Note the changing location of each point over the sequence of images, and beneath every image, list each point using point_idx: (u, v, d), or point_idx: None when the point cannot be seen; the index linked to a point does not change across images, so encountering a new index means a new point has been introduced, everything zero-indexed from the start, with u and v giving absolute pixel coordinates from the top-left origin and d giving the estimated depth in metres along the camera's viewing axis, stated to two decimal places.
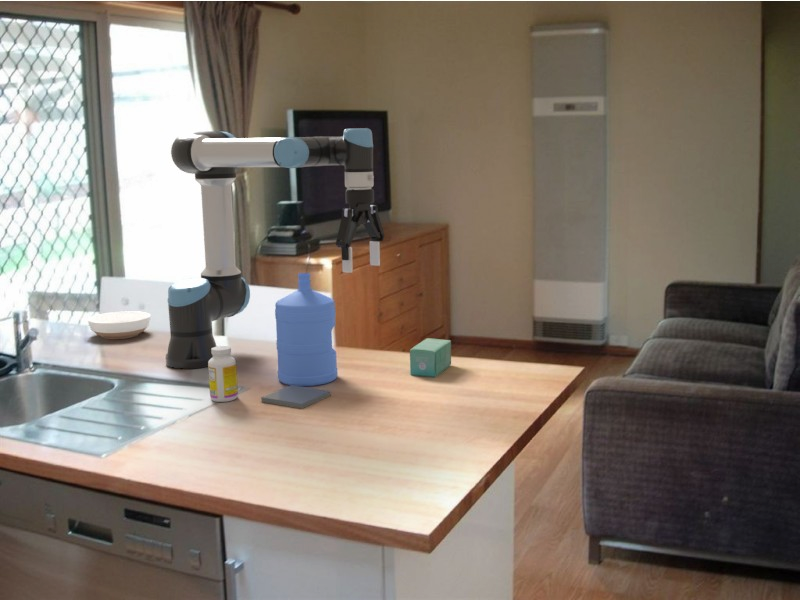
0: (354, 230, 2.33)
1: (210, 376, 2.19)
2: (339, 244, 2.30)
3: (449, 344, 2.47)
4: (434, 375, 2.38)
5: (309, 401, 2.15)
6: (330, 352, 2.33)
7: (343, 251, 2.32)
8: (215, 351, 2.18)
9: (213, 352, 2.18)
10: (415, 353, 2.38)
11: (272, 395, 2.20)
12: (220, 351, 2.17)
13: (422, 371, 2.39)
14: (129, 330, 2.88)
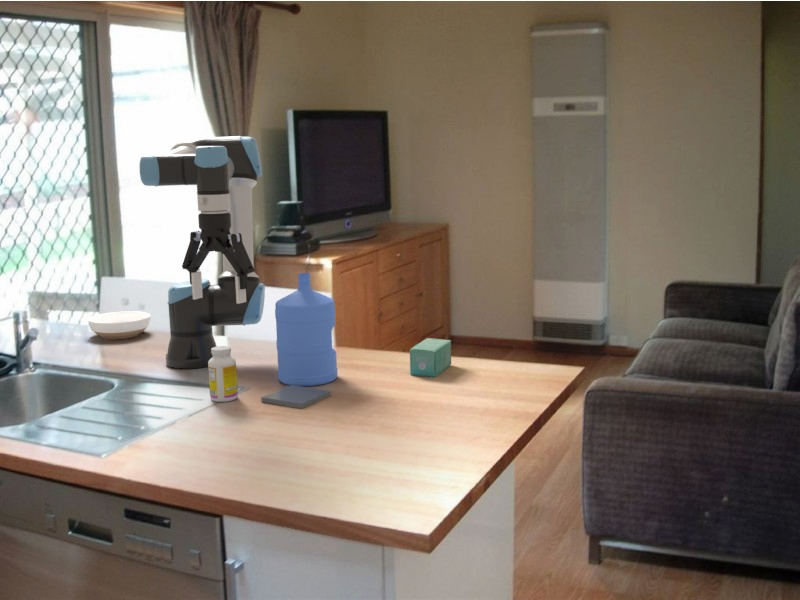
0: (197, 255, 2.17)
1: (210, 376, 2.19)
2: None
3: (449, 344, 2.47)
4: (434, 375, 2.38)
5: (309, 401, 2.15)
6: (330, 352, 2.33)
7: None
8: (215, 351, 2.18)
9: (213, 352, 2.18)
10: (415, 353, 2.39)
11: (272, 395, 2.20)
12: (220, 351, 2.17)
13: (421, 370, 2.39)
14: (129, 330, 2.88)
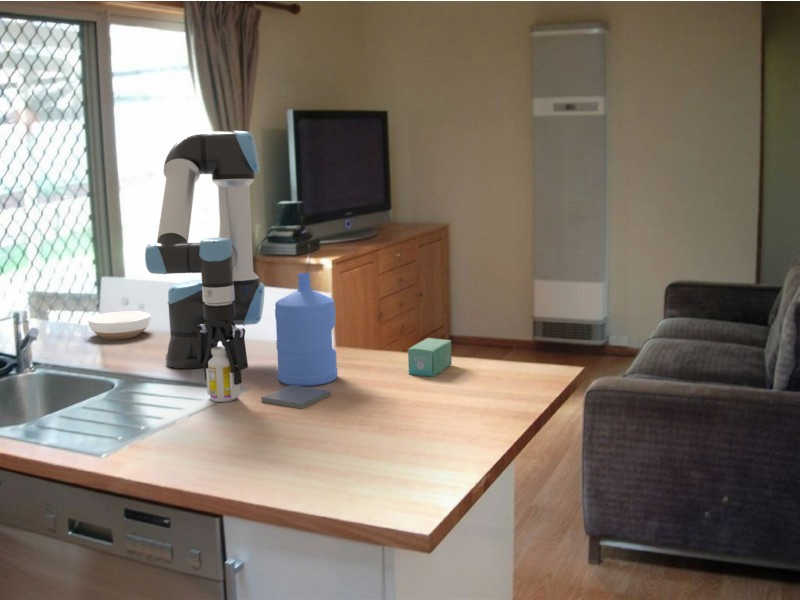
0: (208, 348, 2.20)
1: (210, 376, 2.19)
2: None
3: (449, 344, 2.47)
4: (432, 375, 2.38)
5: (309, 401, 2.15)
6: (330, 352, 2.33)
7: None
8: (215, 351, 2.18)
9: (213, 352, 2.18)
10: (413, 353, 2.39)
11: (272, 395, 2.20)
12: (220, 351, 2.17)
13: (419, 370, 2.39)
14: (129, 330, 2.88)
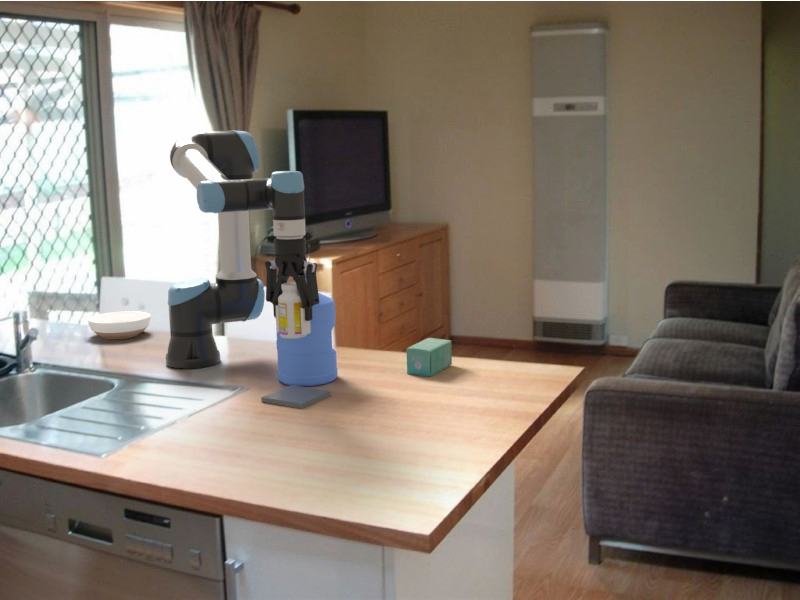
0: (277, 285, 2.16)
1: (280, 312, 2.15)
2: None
3: (449, 344, 2.47)
4: (429, 375, 2.38)
5: (309, 401, 2.15)
6: (330, 352, 2.33)
7: None
8: (286, 286, 2.14)
9: (283, 287, 2.14)
10: (411, 352, 2.40)
11: (272, 395, 2.20)
12: (291, 286, 2.13)
13: (417, 370, 2.39)
14: (129, 330, 2.88)
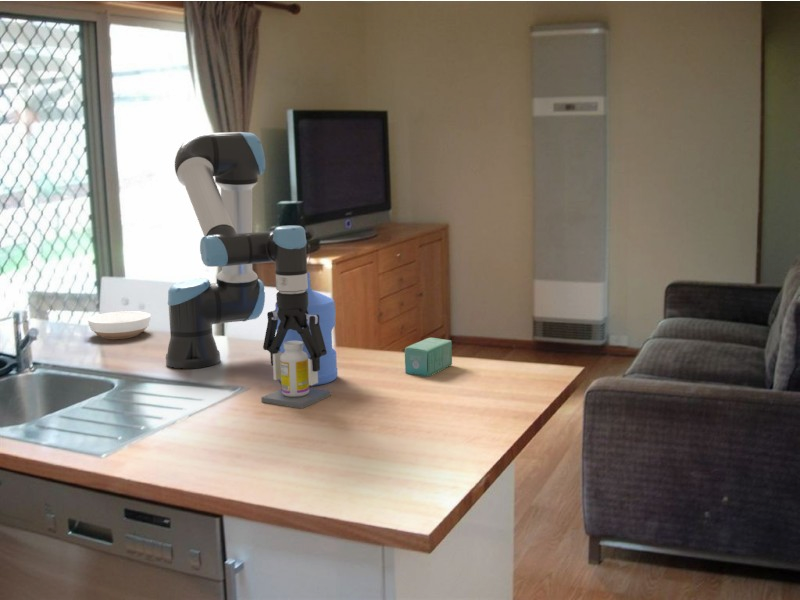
0: (277, 335, 2.19)
1: (282, 371, 2.17)
2: None
3: (449, 344, 2.47)
4: (427, 374, 2.39)
5: (309, 401, 2.15)
6: (330, 352, 2.33)
7: None
8: (288, 346, 2.16)
9: (286, 347, 2.17)
10: (409, 352, 2.40)
11: (272, 395, 2.20)
12: (293, 346, 2.16)
13: (415, 369, 2.40)
14: (129, 330, 2.88)
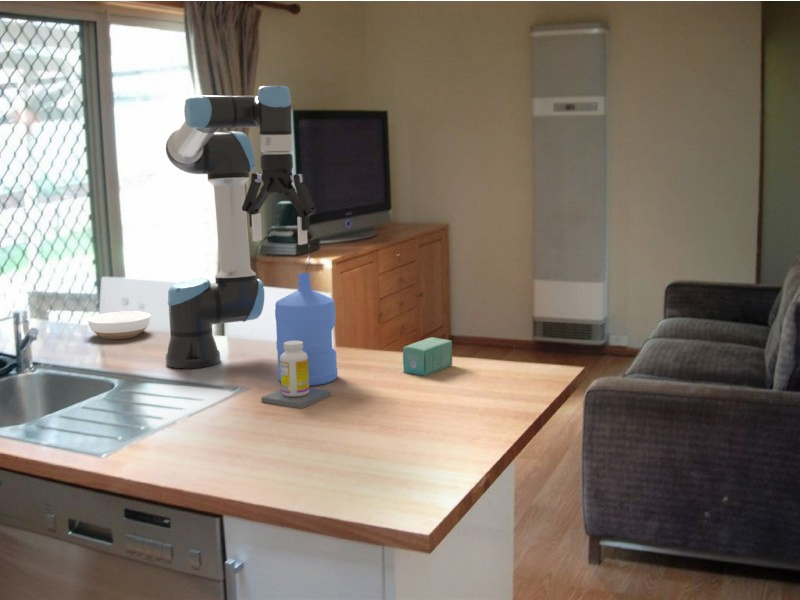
0: (258, 197, 2.17)
1: (282, 371, 2.17)
2: None
3: (449, 344, 2.47)
4: (424, 374, 2.39)
5: (309, 401, 2.15)
6: (330, 352, 2.33)
7: None
8: (288, 346, 2.16)
9: (286, 347, 2.17)
10: (407, 351, 2.41)
11: (272, 395, 2.20)
12: (293, 346, 2.16)
13: (413, 369, 2.41)
14: (129, 330, 2.88)
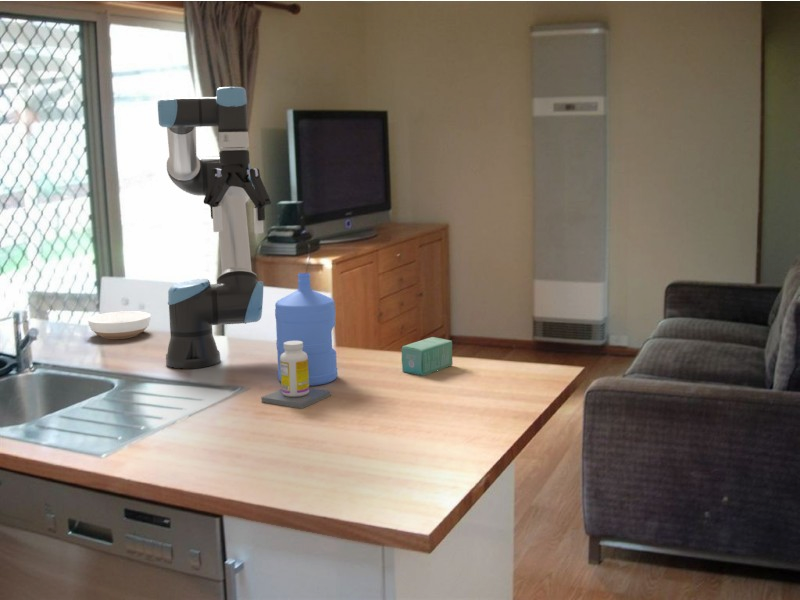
0: (218, 190, 2.33)
1: (282, 371, 2.17)
2: None
3: (448, 344, 2.47)
4: (421, 374, 2.39)
5: (309, 401, 2.15)
6: (330, 352, 2.33)
7: None
8: (288, 346, 2.16)
9: (286, 347, 2.17)
10: (405, 350, 2.42)
11: (272, 395, 2.20)
12: (293, 346, 2.16)
13: (411, 368, 2.41)
14: (129, 330, 2.88)
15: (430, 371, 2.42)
